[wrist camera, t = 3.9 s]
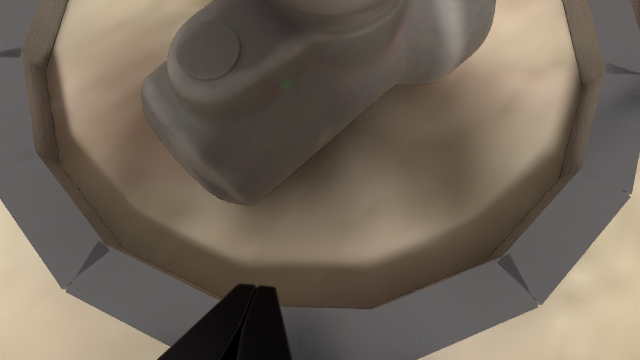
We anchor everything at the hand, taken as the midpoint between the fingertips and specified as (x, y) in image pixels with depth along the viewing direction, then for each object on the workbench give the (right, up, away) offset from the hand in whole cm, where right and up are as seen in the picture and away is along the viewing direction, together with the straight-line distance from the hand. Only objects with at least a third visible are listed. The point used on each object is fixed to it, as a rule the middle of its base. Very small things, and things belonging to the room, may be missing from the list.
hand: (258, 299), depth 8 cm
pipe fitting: (+1, +6, +10) cm, 11 cm away
